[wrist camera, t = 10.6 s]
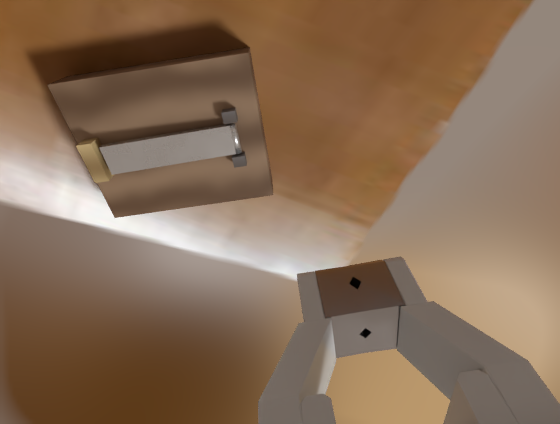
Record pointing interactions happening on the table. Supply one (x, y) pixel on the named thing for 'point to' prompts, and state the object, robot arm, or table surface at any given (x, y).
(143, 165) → the strap
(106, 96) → the base
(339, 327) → the robot arm
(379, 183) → the table surface
